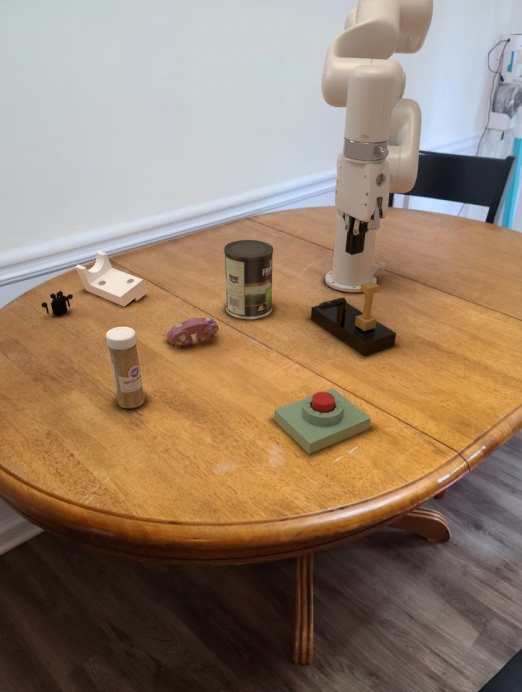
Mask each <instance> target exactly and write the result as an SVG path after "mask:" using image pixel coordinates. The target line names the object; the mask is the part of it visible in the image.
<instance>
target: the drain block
mask: <svg viewBox="0 0 522 692" xmlns="http://www.w3.org/2000/svg"><path fill="white" fill-rule="evenodd" d="M323 392H328V393H330V394H332V395H333V396H334V397H335V404H334V409H333V411H332V412H329V413H320V412H317V411H314V410H313V409H312V397H313V395H314V394H315V393H314V394H311V395H308V396H305V398H303V399H300V400H297V401H295V402H291V403H288V404H287V405H284V406H281V407H278V408H276V409H274V416H273V417H274V418H273V419H274V422H275V423H276V424H278V425H279V427H280V428H281V429H283V430H284V432H286V433H287V434H288V435H289V436H290V437H291V438H292V439H293V440H294V441H295V443H297V444H298V445H299V446H300V447H301V448H302V449H303V450H304V451H305V452H306V453H308V454H309V455H311V454H314V453H316V452H318V451H320V450H323V449H325V448H327V447H330V446H332V445H335V444H337V443H339V442H341V441H345V440H346V439H349V438H351V437H353V436H356V435H358V434H360V433H362V432H365V431H367V430H369V429H370V425H371V419H372V418H371V417H370V416H369V415H367V414H366V413H365V412H363V410H361V409H360V408H358V407H357V406H356V405H355V404H353V403H352V402H351V401H350V400H348V399H347V398H346V397H344V395H342V394H341V393H340V392H338V391H337V390H336V389H335V388H331V389H327V390H324V391H323Z"/></svg>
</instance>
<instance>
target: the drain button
mask: <svg viewBox="0 0 522 692" xmlns="http://www.w3.org/2000/svg"><path fill="white" fill-rule="evenodd" d="M312 395H313V394H312ZM334 404H335V397H334V396H333V395H332V394H330V393H328V392H324V391H318V392H315V393H314V395H313V397H312V409H313V410H314V411H317V412H320V413H329V412H332V411H333V409H334Z"/></svg>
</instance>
